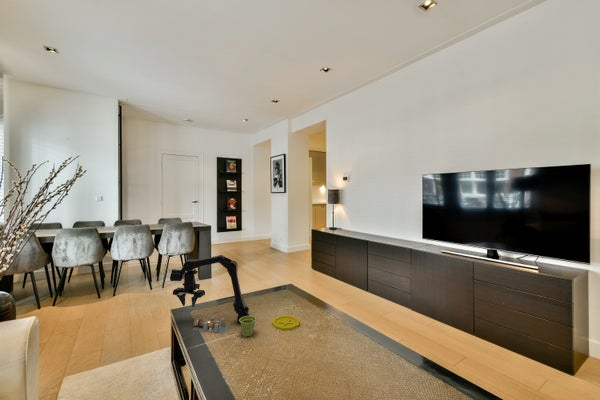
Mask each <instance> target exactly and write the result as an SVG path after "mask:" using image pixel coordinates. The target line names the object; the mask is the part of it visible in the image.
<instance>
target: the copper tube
mask: <svg viewBox="0 0 600 400" xmlns="http://www.w3.org/2000/svg"><path fill="white" fill-rule="evenodd" d="M204 322H208V328H212V329H213V328H214V325H215V324H216V320H214V321H210V319H209V320H208V319H201V318H195V319H194V320H193V326H194V327H196V326H199V327H203V324H204Z"/></svg>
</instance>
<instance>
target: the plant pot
mask: <svg viewBox="0 0 600 400" xmlns="http://www.w3.org/2000/svg"><path fill="white" fill-rule="evenodd" d="M239 321H240V324H241V325H240V324H239V325H240V327H241V336H243V337H245V338H247V337H252V336H253V335H254V328H255V323H256V321H257V318H256V317H255V316H253V315H249V316H244V317H242V318H240V320H239Z"/></svg>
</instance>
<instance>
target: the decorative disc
mask: <svg viewBox="0 0 600 400" xmlns="http://www.w3.org/2000/svg"><path fill="white" fill-rule="evenodd" d="M300 321H301V320H300V319H299V318H297V317H296V316H294V315H288V314H285V315H277V317H276V316H275V317H274V318H273V319H272V321H271V326H272V325H273V326H274V327H275V328H276V329H275V328H274V327H273V326H272V327H273V328H274V329H275V330H278V329H279V331H283V332H286V331H288V330H289V331H294V330H296V329H297V328H296V327H298V326H299V327H300V323H299V322H300ZM299 327H298V328H299ZM295 328H296V329H295ZM293 329H294V330H293Z"/></svg>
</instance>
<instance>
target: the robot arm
mask: <svg viewBox="0 0 600 400" xmlns="http://www.w3.org/2000/svg"><path fill="white" fill-rule="evenodd" d="M217 263H219V264H220V265H222V267H223V268H225V269H226V271H227V273H228V275H229V277H230V281H231V284H232V285H231V286H232V289H233V296H234V298H235V299H234V300H233V303H232V307H233V311H235V313H236V315H237V317H236V323H237V324H238V325H240V326H241V324H240V321H239V320H240V318H242V317H244V316H250V313H249V311H250V308H249V307H248V306H247V305H246V302H245V299H244V298H243V296H242V291H241V287H240V286H241V285H240V282H239V277H238V269H239V267H238V266H239V265H238V261H235V260H232V259H230V258H229V257H226V256H224V255H223V254H219V255H216V256H211V257H210V256H209V257H205V258H202V259H201V258H198V259H197V258H190V259H187V260H186V261H185V262H184V263H183V265H182V268H181V269H175V268H174V269H171V273H170V276H169V280H170V282H182V280H183V283H182V286H183V287H177V288H174V289H173V291H172V295H174V296H176V297H177V298H178V299H179V301H180V303H181V305H182V306H183V307H185V306H186V295H193V296H192V297H191V298H190V300H191V307H192V308H194V307H195V306H196V303H197V301H198V299H199V298H200V299H201V298H202V297H204V296H205V295H206V290H204V289H200V287H201V284H200V283H196V282H197V281H195V275H196V274H198V273H199V271H198V270H197V269H196V268H199V267H203V266H208V265H214V264H217Z"/></svg>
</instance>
